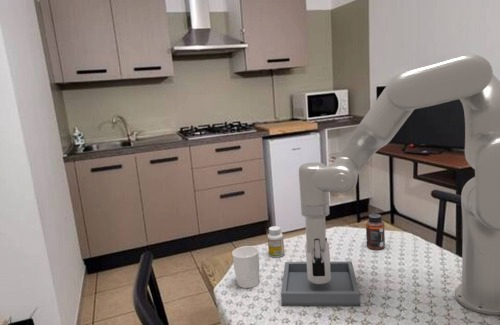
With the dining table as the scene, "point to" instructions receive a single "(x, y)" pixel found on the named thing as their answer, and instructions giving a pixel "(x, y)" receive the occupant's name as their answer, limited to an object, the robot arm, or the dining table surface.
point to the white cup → (246, 266)
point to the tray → (320, 286)
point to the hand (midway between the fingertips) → (318, 269)
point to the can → (326, 259)
